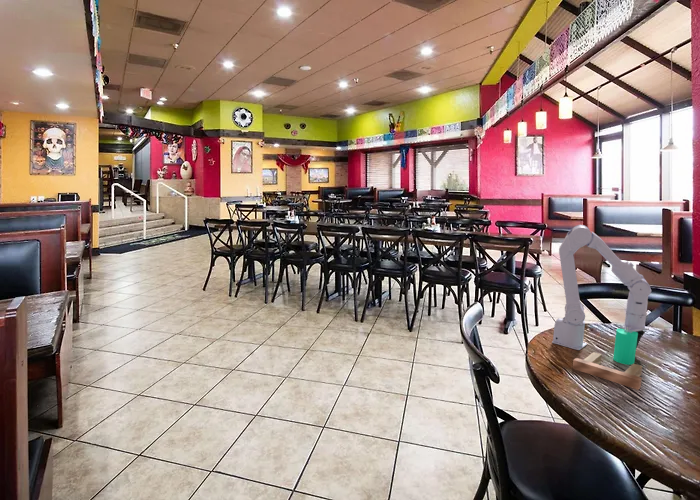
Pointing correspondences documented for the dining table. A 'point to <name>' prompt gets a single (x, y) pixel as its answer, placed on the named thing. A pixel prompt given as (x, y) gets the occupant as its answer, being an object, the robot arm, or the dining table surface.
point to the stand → (609, 371)
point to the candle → (625, 347)
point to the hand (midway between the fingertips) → (631, 350)
